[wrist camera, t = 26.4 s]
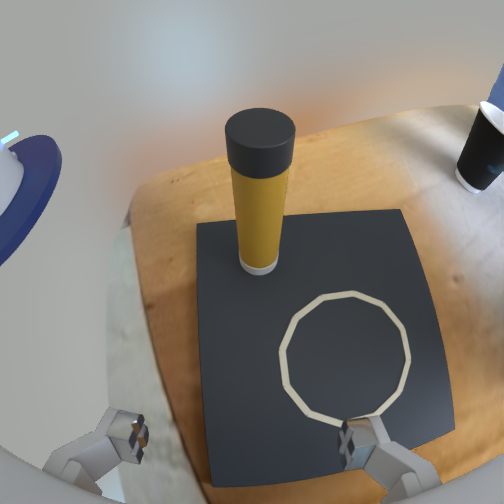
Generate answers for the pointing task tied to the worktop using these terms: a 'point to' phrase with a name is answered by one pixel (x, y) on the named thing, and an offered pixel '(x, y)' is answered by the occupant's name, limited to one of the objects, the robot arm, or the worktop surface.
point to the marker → (259, 182)
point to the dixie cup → (483, 150)
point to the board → (316, 346)
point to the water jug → (498, 92)
